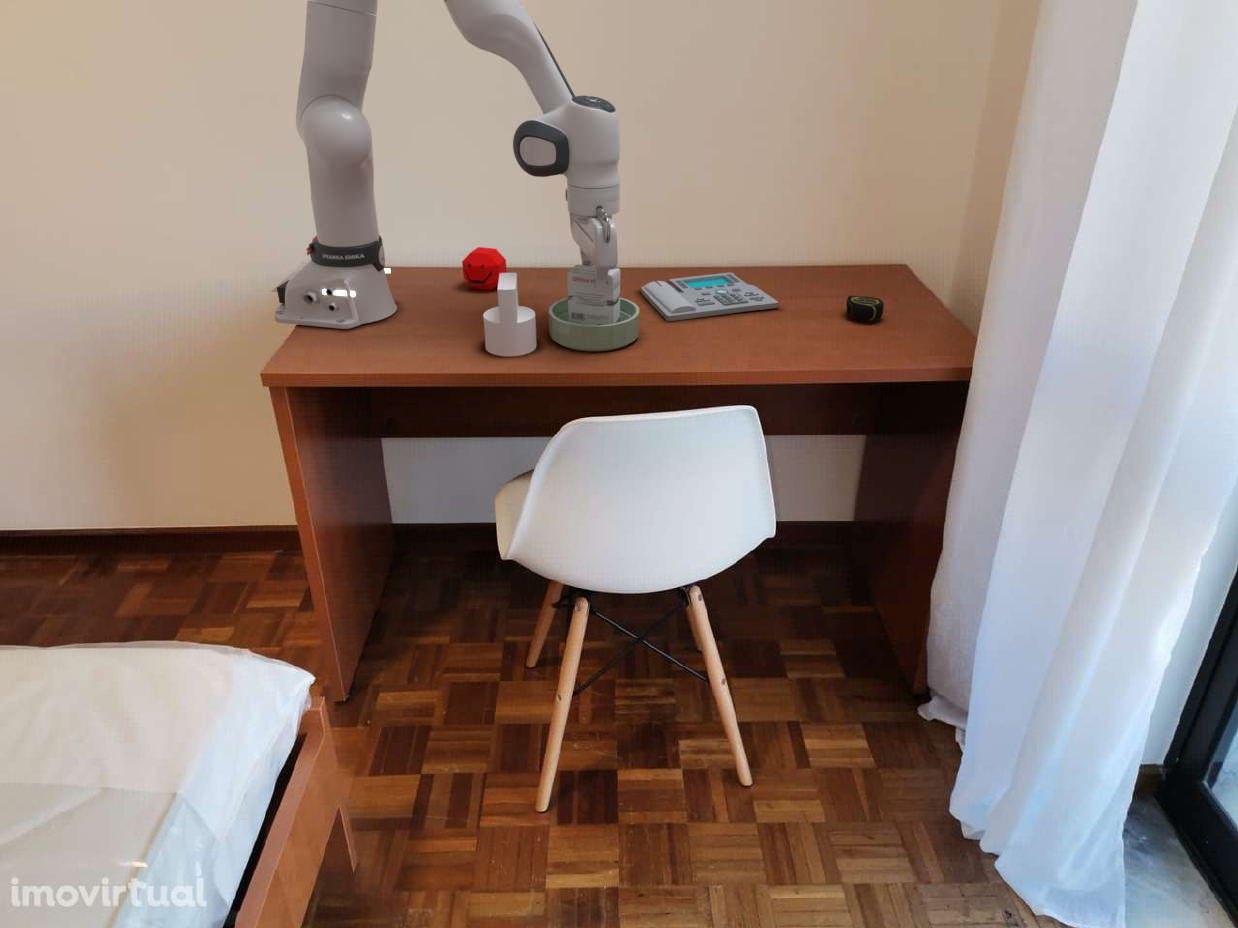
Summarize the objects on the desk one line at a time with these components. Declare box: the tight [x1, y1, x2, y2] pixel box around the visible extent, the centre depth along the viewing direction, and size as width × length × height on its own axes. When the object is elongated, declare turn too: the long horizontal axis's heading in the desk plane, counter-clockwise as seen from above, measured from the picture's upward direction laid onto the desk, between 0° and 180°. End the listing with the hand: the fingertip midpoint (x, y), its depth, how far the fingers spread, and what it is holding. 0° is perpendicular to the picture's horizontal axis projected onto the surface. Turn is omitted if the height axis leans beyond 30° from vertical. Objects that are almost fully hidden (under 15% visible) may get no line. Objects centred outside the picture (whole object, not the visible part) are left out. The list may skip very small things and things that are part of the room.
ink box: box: [566, 264, 621, 325], centre depth 161 cm, size 8×5×12 cm, turn 74°
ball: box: [461, 246, 508, 291], centre depth 185 cm, size 8×8×8 cm
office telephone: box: [640, 272, 779, 322], centre depth 181 cm, size 23×3×20 cm
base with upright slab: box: [482, 272, 538, 357], centre depth 157 cm, size 9×9×12 cm
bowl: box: [548, 297, 640, 352], centre depth 163 cm, size 16×16×5 cm
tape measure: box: [845, 295, 885, 322], centre depth 172 cm, size 7×7×4 cm
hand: (593, 279), depth 159 cm, fingers open, 8 cm apart
